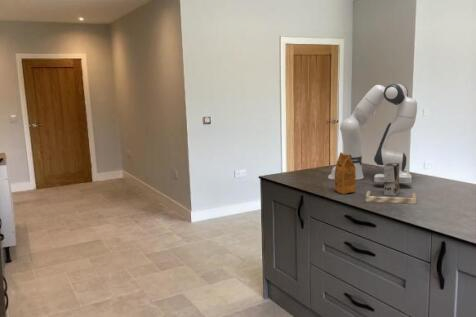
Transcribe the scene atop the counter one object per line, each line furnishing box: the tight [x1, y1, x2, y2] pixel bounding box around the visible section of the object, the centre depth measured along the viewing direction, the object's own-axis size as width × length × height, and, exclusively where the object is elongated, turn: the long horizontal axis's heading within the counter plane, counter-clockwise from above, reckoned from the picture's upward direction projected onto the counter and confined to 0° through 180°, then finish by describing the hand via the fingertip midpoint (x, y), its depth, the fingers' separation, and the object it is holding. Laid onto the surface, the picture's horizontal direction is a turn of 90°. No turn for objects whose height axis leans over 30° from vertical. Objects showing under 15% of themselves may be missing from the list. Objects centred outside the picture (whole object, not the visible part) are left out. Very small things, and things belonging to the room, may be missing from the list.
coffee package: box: [333, 151, 357, 195], centre depth 237 cm, size 10×12×22 cm
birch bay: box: [365, 190, 417, 205], centre depth 218 cm, size 24×13×2 cm, turn 68°
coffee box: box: [383, 163, 400, 196], centre depth 229 cm, size 9×6×16 cm
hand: (392, 181), depth 235 cm, fingers closed
